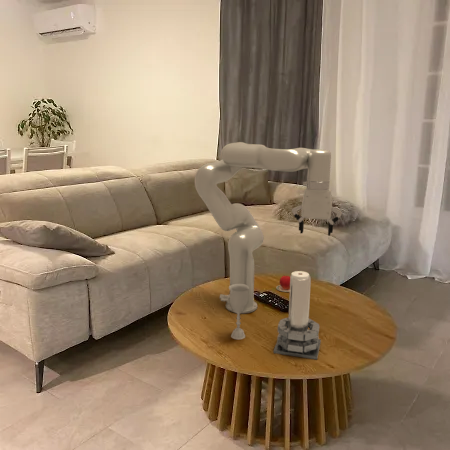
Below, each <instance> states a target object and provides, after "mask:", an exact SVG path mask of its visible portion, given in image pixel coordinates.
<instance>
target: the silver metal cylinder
mask: <svg viewBox="0 0 450 450" xmlns="http://www.w3.org/2000/svg"><path fill="white" fill-rule="evenodd" d="M289 277H290V292H289V301H288V303H289V304H288V317H289V322H288V329H289V330H291V331H297V332H305V331H308V330H309V328H308V322H309V319H310V304H311V303H310V302H311V301H310V300H311V285H312V284H311V281H312V277H311V276H310V274H309V272H307V271H303V270H299V271H298V270H295V271H293V272H291V274H290V276H289ZM288 341H290V342H294V343H301V344H303V343H306V342H307V341H304V340H303V341H299V340H292V339H288Z"/></svg>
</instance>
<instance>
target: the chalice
mask: <svg viewBox="0 0 450 450" xmlns="http://www.w3.org/2000/svg"><path fill="white" fill-rule="evenodd" d="M228 289H229V295H230V302H231V305H232V308H233V310H234V312H235V313H234V312H233V313H234V314H236V317H235V318H236V322H235V324H236V328H234V329H233V330H232V333H231V335H230V337H231V338H232V339H234V340H243V339H245V338H246V334H245V331H244V329H242V328H241V327H240V325H241V324H242V323H241V320H242V318H241V314H243V313H242V312H243V310H244V308H245V306H246V304H247V295H248V289H249V286H247V285H245V284H234V285H231V286H230V285H229V286H228Z"/></svg>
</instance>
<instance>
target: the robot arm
mask: <svg viewBox="0 0 450 450" xmlns="http://www.w3.org/2000/svg"><path fill="white" fill-rule="evenodd" d="M220 158H221V159H220V160H218V161H214V162H208V163H205V164H203V165H202V166H200V167H199V168H198V169H197V171H196V173H195V175H194V188H195V190H196V192H197V194H198V196H199V197H200V198H201V200H202V201H203V203H204V204H205V205H206V208H207V209H208V211H209V212H210V214H211V215H212V217H213V219H214V220H215V222H216V224H217V226H218V227H219V228H220V229H221V230H223V231H225V232H231V231H234V230H236V231H235V232H234V233H232V235H230V237H229V240H228V242H227V248H228V254H229V255H228V256H229V286H231V285H234V284H245V285H247V286H249V289H248V295H247V304H246V306H245V308H244V310H243V312H242V313H241V314H250V313H252V312H255V311H256V310H257V309H258V303H257V302H256V301H255V300H254V298H255V296H254V293H255V290H254V289H255V260H254V256H253V255H254V254H253V252H254V251H255V250H257V249H258V248H260V247H261V246H262V245H263V243H264V239H265V238H264V237H265V236H264V232H263V230H262V229H261V227H260V225H259V224H258V222H257V221H256V219H255V217H254V215H253V214H252V213H251V211H250V210H249V209H248V207H246V206H245V205H244V204H242V203H239V202H237V203H235V202H234V203H232V202H231V201H230V200H229V199H228V197H227V195H226V194H225V192H224V191H222V190H221V189H220V187H218V184H222V183H225V182H228V181H229V180H231V179H232V178H233V177H234V176H235V175H236V174H238V173H239V172H240V171H241V170H242V169H243V168H251V169H252V168H253V169H262V170H267V171H275V172H291V173H293V172H297V171H300V170H301V171H302V170H304V169H305V170H306V169H307V180H306V181H302V186H305V187H306V188H305V189H304V191H303V195H302V203H301V205H298V206H295V207H293V208H292V209H291V212H292V214H293V217H294V218H295V219H296V221H298V231H299V233H300V235H301V234H303V233H304V225H305V223H304V219H308V220H309V219H313V220H327V222H328V226H327V227H328V229H327V236H328V237H330V236H331V234H333V229H334V224H336V223H337V222H338V221H339V219H340V218H341V216H342V215H343V212H342V211H341V210H340V209H338V208H336V207H334V206H333V203H332V202H333V199H332V197H333V196H332V190H331V189H330V181H331V180H330V179H331V166H332V165H331V163H332V162H331V161H332V152H331V151H330V150H328V149H321V148H320V149H318V148H317V149H312V148H305V147H297V148H290V149H289V148H287V149H284V148H283V149H282V148H269V147H267V146H266V145H264V144H258V143H257V144H256V143H255V144H252V143H245V142H243V141H238V142H231V143H228V144H226V145H224V147H222V149H221V151H220ZM300 210H301V215H300V214H299V213H298V211H300ZM332 212H333V213H335V214H336V216H335V217H333V218H332ZM219 300H220V301H221V302H226V303H225V308H226V309H227V310H228V311H229V312H230V313H231V312H232V313H234V314H236V313H235V312H234V310H233V308H232V305H231V302H230V294H221V293H220V294H219Z"/></svg>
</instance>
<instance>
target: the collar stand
mask: <svg viewBox="0 0 450 450" xmlns="http://www.w3.org/2000/svg"><path fill="white" fill-rule="evenodd" d="M288 322H289V316H288V317H285V318H281V319H280V320H279V321H278V325H277V333H278V335H277V337H276V344H275V345H274V349H273V354H277V355H285V356H289V357H290V356H291V357H299V358H304V359H311V360H318V358H319V357H318V356H319V351H320V347H321V342H322V340H321V339H320V338H319V337H320V336H319V332H320V323H318V322H316V321H314V319H313V320H312V319H311V318H309V322H308V331H305V332H297V331H291V330H289V329H288ZM288 339H292V340H299V341H303V340H304V341H307V342H306V343H303V344H301V343H294V342H290V341H288Z"/></svg>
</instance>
